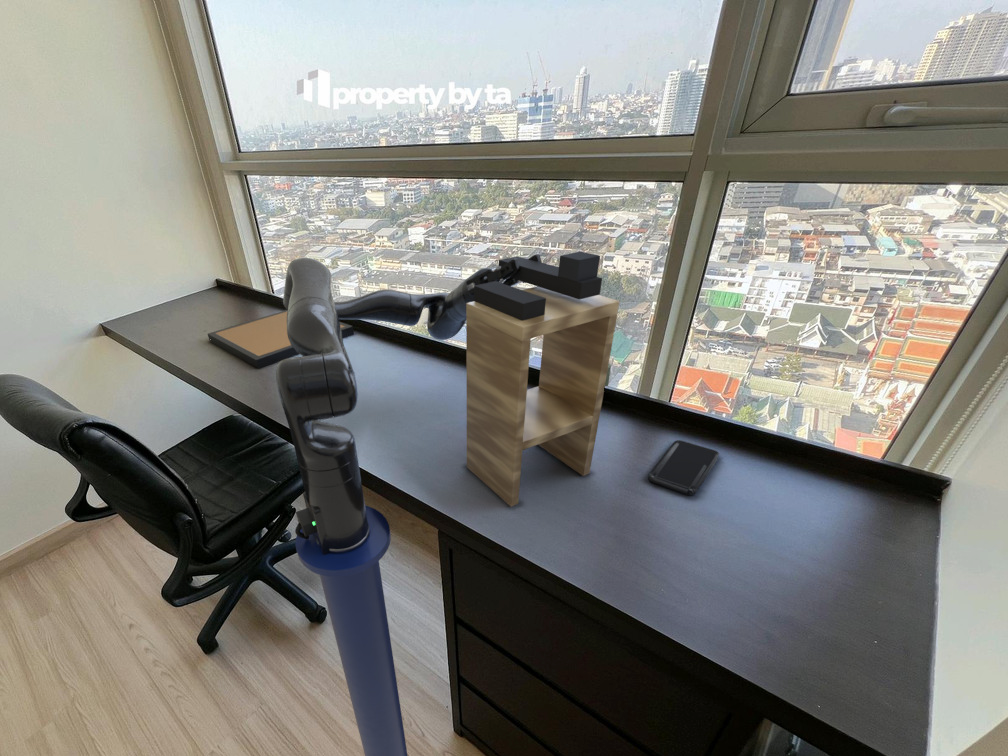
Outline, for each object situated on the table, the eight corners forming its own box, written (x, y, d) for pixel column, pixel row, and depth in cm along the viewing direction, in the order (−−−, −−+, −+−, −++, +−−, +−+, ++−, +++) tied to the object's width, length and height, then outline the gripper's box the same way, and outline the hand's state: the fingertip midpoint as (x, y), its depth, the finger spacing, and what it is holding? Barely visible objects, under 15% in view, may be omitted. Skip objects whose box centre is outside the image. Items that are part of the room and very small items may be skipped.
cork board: (298, 314, 183) (209, 341, 164) (297, 306, 181) (207, 333, 162) (354, 334, 160) (258, 368, 141) (352, 326, 158) (255, 359, 140)
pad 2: (579, 299, 70) (584, 261, 67) (498, 274, 85) (499, 241, 82) (599, 294, 72) (605, 256, 69) (516, 270, 87) (518, 238, 84)
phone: (647, 475, 85) (676, 438, 94) (646, 480, 86) (675, 443, 95) (695, 492, 81) (721, 452, 89) (694, 497, 81) (719, 457, 90)
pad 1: (522, 320, 67) (523, 303, 66) (474, 301, 76) (474, 285, 75) (544, 315, 68) (546, 298, 67) (494, 296, 77) (495, 281, 76)
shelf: (511, 507, 83) (522, 327, 65) (466, 467, 93) (466, 302, 76) (589, 473, 89) (619, 300, 71) (539, 439, 100) (555, 282, 82)
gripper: (511, 305, 99) (566, 276, 83) (452, 319, 94) (499, 292, 78) (501, 269, 98) (555, 233, 82) (442, 282, 94) (487, 246, 78)
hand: (528, 262), depth 80 cm, fingers closed on pad 2, 4 cm apart
